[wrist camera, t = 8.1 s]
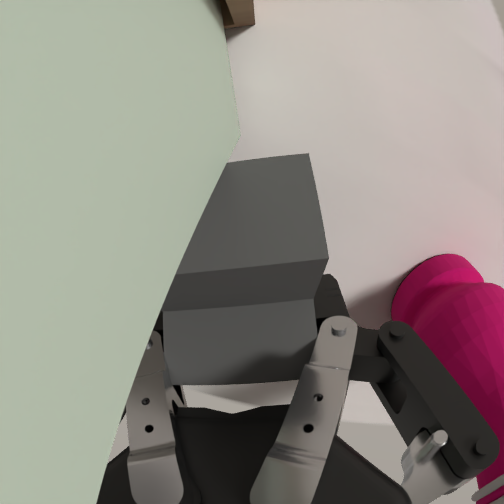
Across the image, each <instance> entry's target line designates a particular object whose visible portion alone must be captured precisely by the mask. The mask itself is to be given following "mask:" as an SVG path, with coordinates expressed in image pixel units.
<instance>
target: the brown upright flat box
mask: <svg viewBox="0 0 504 504" xmlns="http://www.w3.org/2000/svg"><path fill="white" fill-rule="evenodd" d="M220 6H221V12H222V19H223V25H224V29H227V28H233V27H240V26H247V25H255V16H254V4H253V0H220Z"/></svg>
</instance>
